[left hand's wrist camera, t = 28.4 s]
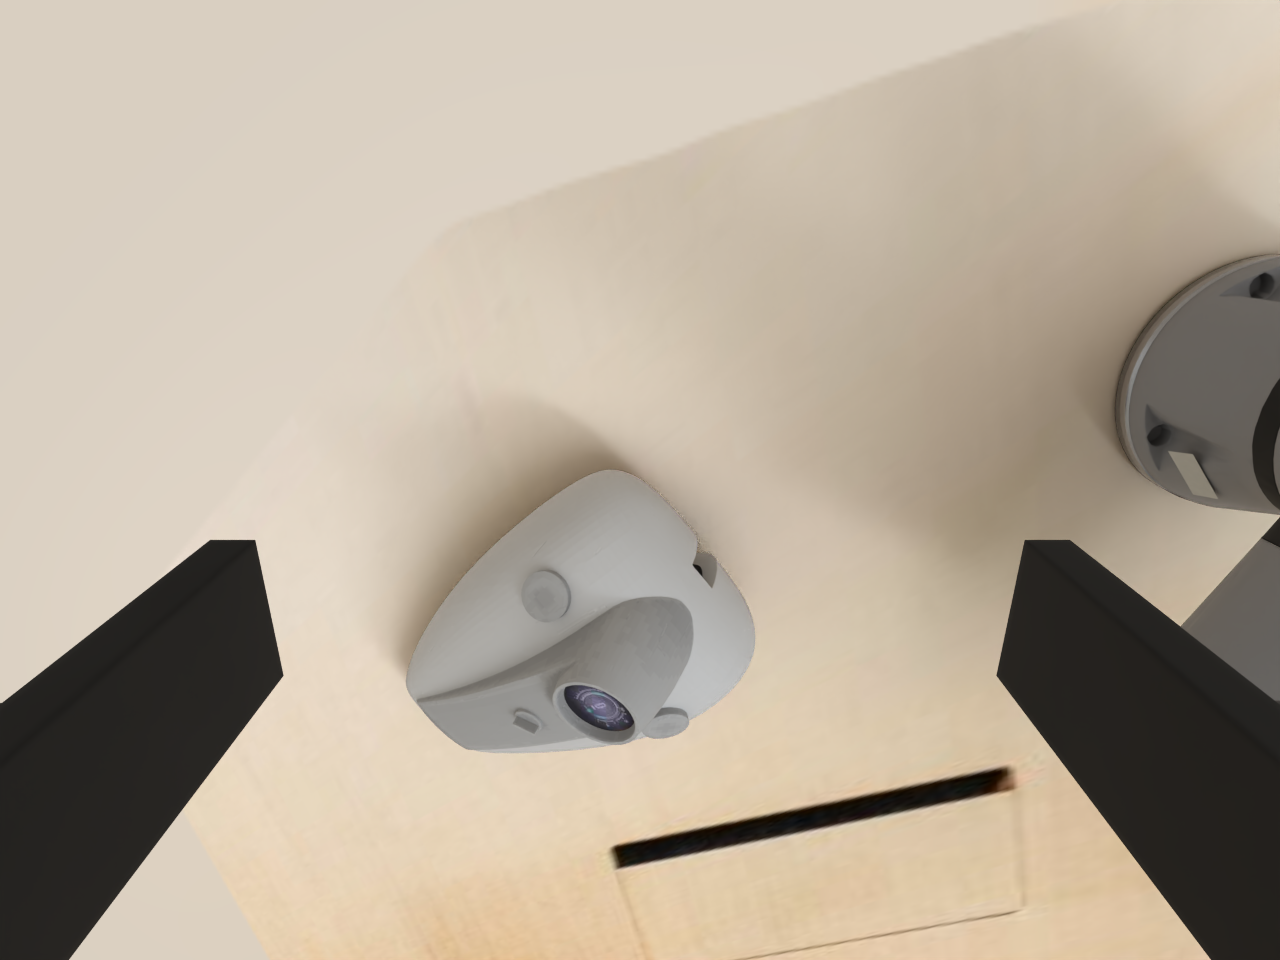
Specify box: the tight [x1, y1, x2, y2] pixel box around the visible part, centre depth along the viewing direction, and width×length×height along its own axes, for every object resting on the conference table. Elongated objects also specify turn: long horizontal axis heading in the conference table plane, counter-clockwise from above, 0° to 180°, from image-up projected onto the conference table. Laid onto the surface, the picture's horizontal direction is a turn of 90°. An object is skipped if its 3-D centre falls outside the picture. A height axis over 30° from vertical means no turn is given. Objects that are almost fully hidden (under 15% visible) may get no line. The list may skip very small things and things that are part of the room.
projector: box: [406, 470, 755, 753], centre depth 43 cm, size 22×23×15 cm
